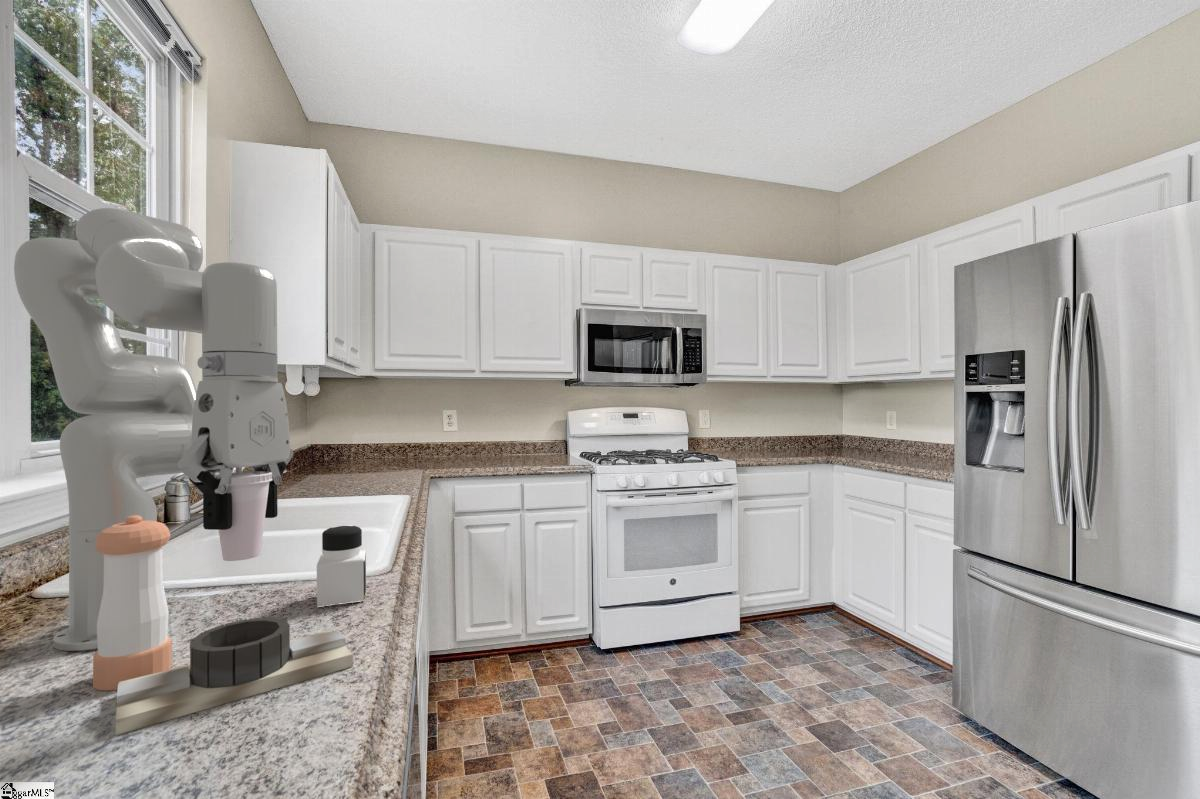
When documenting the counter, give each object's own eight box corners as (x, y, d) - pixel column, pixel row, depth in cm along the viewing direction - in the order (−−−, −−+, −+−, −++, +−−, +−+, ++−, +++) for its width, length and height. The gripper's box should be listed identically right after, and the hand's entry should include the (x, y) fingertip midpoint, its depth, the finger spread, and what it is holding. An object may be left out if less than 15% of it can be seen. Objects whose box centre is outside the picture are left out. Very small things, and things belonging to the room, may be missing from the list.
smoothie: (197, 566, 61) (195, 439, 62) (224, 551, 68) (223, 437, 68) (260, 561, 63) (259, 437, 63) (282, 548, 69) (280, 435, 69)
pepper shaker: (163, 656, 72) (163, 508, 72) (179, 673, 67) (179, 514, 67) (87, 678, 66) (87, 517, 66) (99, 697, 61) (99, 524, 62)
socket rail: (115, 735, 54) (115, 678, 54) (118, 695, 62) (118, 646, 62) (352, 666, 68) (352, 621, 68) (331, 640, 76) (331, 600, 76)
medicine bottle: (365, 602, 91) (364, 529, 91) (316, 608, 89) (316, 533, 89) (366, 589, 98) (365, 521, 98) (321, 595, 95) (320, 525, 95)
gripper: (203, 363, 57) (205, 540, 56) (318, 374, 73) (320, 510, 73) (142, 366, 58) (143, 539, 57) (269, 375, 75) (270, 509, 74)
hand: (242, 521), depth 65 cm, fingers closed on smoothie, 6 cm apart
